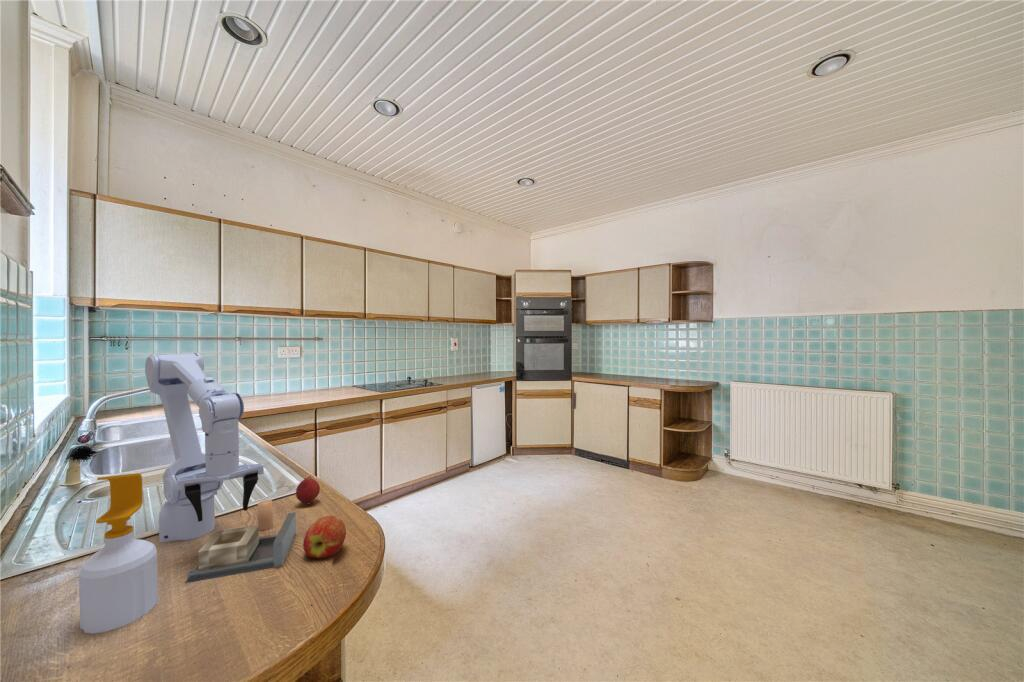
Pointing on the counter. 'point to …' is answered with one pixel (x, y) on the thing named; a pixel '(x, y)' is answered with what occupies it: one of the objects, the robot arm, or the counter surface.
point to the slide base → (256, 555)
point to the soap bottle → (119, 565)
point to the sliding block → (228, 547)
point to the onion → (307, 490)
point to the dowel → (265, 515)
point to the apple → (324, 537)
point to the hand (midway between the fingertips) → (223, 513)
